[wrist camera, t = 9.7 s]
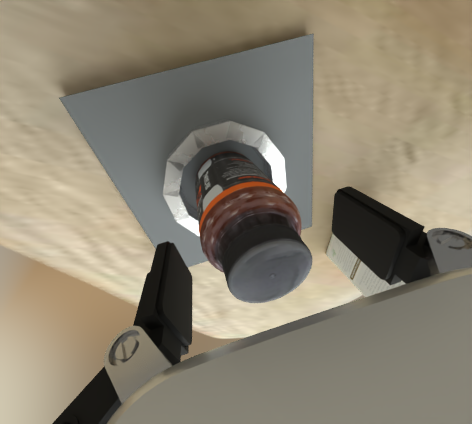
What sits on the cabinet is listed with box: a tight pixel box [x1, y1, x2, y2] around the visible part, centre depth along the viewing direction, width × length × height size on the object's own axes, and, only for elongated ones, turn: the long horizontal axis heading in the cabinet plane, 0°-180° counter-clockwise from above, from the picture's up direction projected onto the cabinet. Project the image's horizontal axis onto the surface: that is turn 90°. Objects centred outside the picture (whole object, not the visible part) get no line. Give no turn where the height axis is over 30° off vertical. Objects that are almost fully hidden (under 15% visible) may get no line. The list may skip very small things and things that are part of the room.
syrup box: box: [326, 234, 406, 297], centre depth 21 cm, size 6×6×14 cm
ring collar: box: [163, 119, 287, 236], centre depth 17 cm, size 10×10×2 cm
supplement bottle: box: [195, 151, 312, 303], centre depth 13 cm, size 6×6×11 cm
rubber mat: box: [59, 34, 313, 267], centre depth 18 cm, size 18×18×1 cm
